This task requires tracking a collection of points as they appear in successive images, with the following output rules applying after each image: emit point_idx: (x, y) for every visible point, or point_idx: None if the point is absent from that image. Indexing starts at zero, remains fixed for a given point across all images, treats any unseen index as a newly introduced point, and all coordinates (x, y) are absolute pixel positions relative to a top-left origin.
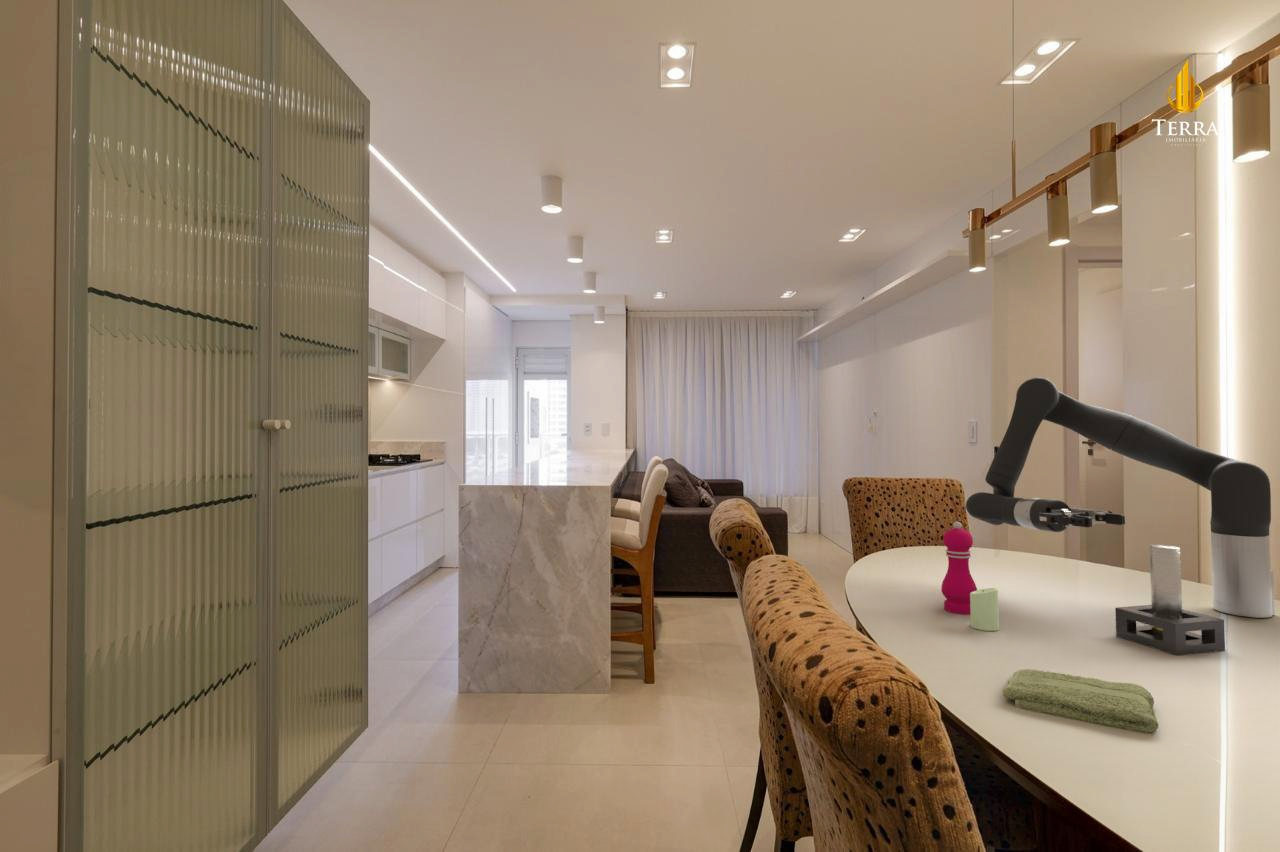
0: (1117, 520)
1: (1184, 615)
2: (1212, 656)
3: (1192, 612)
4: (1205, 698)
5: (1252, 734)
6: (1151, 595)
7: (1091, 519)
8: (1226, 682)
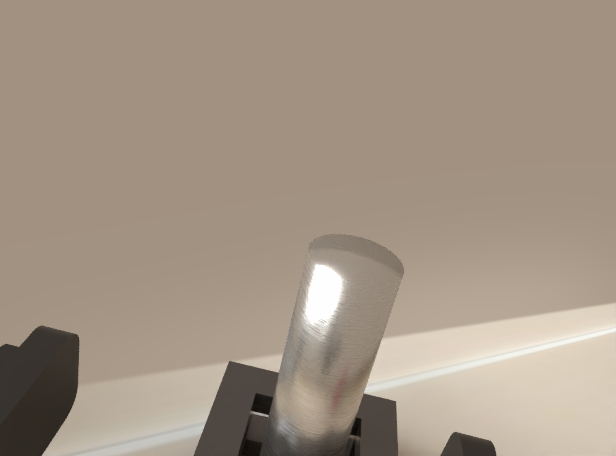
0: (55, 407)
1: (244, 433)
2: None
3: (214, 419)
4: (530, 367)
5: (564, 321)
6: (343, 437)
7: (452, 440)
8: (432, 370)
